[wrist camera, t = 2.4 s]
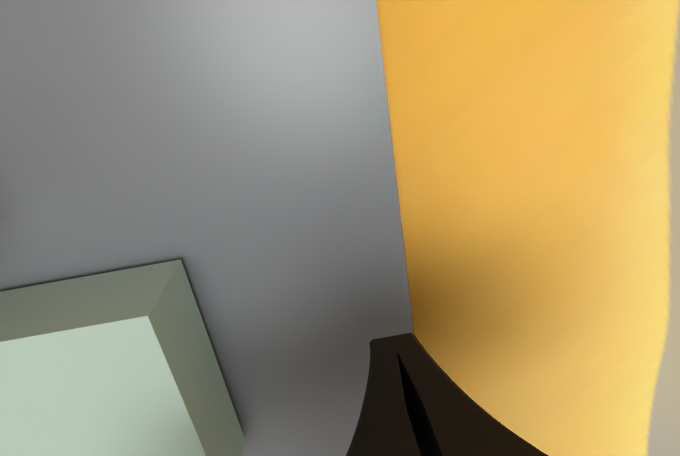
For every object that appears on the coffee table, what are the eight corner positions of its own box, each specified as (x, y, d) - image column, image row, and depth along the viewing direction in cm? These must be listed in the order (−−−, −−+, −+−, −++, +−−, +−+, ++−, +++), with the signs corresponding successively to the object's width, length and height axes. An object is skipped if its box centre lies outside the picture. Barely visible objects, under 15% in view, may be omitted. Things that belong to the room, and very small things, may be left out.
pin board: (416, 423, 21) (429, 471, 18) (-72, 510, 21) (-120, 568, 18) (355, -62, 13) (366, -86, 10) (-443, 80, 13) (-609, 88, 10)
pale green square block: (245, 439, 16) (232, 519, 14) (41, 476, 16) (-13, 563, 14) (180, 259, 13) (147, 315, 11) (-72, 304, 13) (-172, 372, 11)
